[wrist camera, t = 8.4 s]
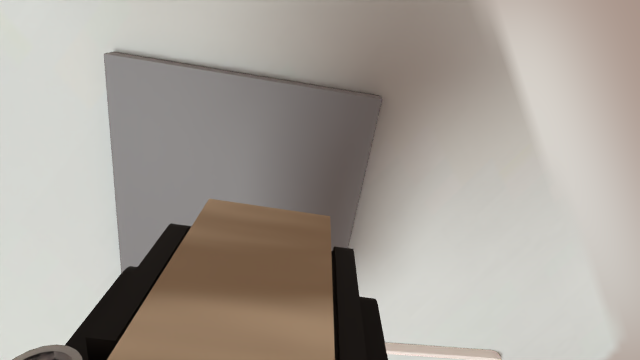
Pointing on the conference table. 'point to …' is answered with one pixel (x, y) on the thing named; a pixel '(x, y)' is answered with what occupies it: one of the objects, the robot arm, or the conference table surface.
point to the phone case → (441, 352)
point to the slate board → (229, 146)
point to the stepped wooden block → (240, 290)
